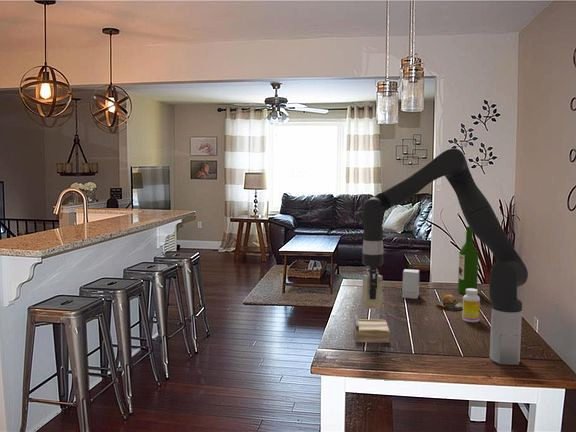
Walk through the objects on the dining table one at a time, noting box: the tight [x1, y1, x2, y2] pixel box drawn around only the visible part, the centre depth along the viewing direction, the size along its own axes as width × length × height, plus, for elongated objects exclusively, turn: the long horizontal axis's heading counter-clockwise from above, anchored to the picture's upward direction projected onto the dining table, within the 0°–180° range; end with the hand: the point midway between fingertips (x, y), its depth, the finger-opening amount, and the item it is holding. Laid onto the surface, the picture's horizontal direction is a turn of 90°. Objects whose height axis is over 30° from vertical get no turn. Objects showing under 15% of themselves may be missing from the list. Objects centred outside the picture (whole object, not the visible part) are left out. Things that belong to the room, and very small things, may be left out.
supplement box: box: [401, 268, 420, 300], centre depth 262 cm, size 7×7×13 cm
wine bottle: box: [457, 226, 479, 295], centre depth 268 cm, size 9×9×32 cm
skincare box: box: [361, 273, 383, 310], centre depth 203 cm, size 6×4×12 cm
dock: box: [353, 314, 391, 344], centre depth 204 cm, size 14×12×6 cm
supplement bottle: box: [461, 288, 481, 323], centre depth 223 cm, size 7×7×13 cm
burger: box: [436, 292, 463, 312], centre depth 244 cm, size 12×12×8 cm
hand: (372, 296), depth 203 cm, fingers closed on skincare box, 5 cm apart
